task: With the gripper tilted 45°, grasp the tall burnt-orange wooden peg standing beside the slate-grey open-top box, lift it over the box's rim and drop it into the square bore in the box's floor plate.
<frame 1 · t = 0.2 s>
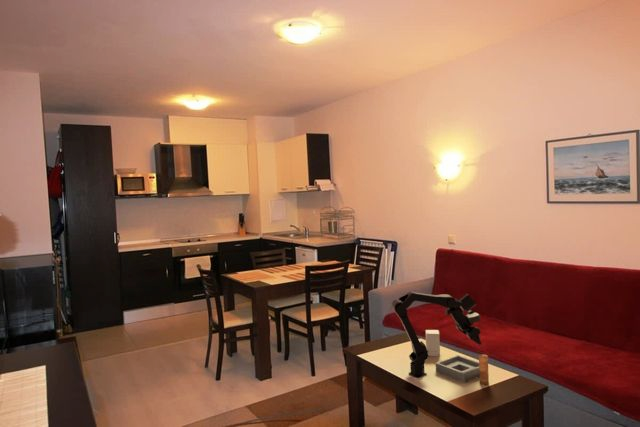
hand: (476, 341, 218), 15 cm above the table, tool tilted 35°, fingers open, 9 cm apart
supplement box: (433, 354, 243), on the table
socket box: (460, 372, 217), on the table
orange peg: (484, 383, 204), on the table
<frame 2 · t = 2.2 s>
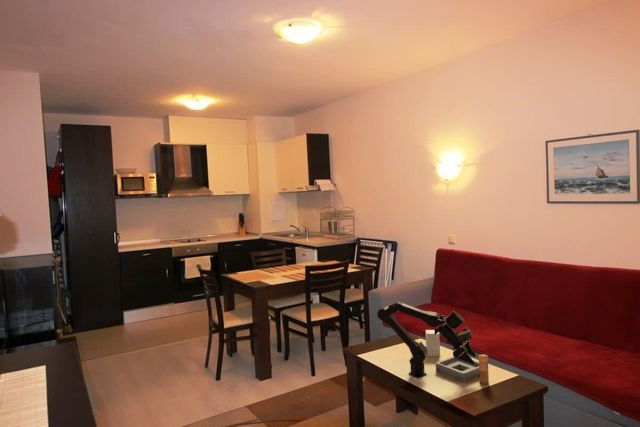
hand: (474, 359, 205), 11 cm above the table, tool tilted 45°, fingers open, 9 cm apart
nothing on the table moved.
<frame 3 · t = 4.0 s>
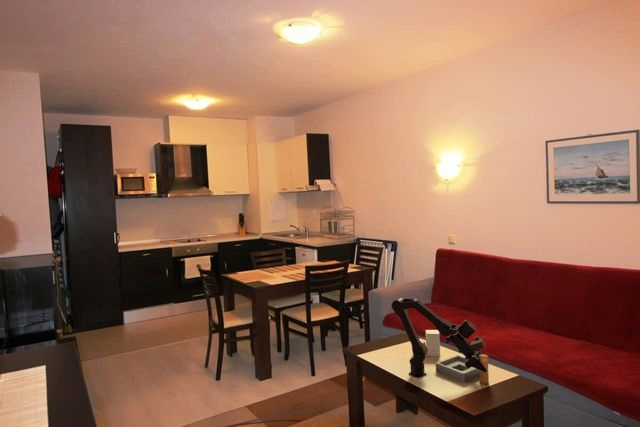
hand: (486, 369, 203), 7 cm above the table, tool tilted 45°, fingers closed on orange peg, 4 cm apart
orange peg: (484, 383, 204), on the table, touching gripper
everything else where it was.
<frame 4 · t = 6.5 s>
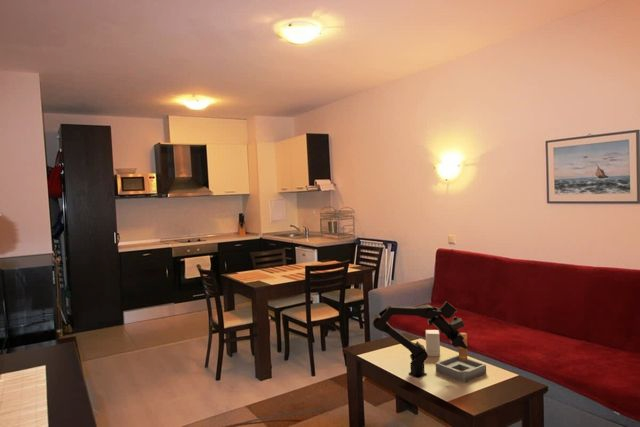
hand: (465, 346, 215), 13 cm above the table, tool tilted 45°, fingers closed on orange peg, 4 cm apart
orange peg: (463, 359, 215), point 7 cm above the table, touching gripper
everything else where it was.
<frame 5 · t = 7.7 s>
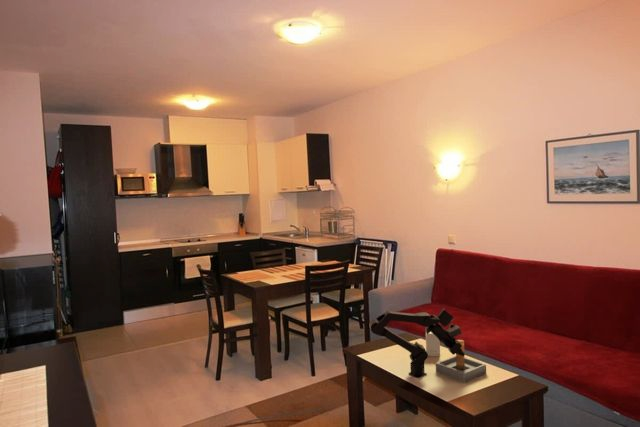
hand: (462, 353, 216), 10 cm above the table, tool tilted 45°, fingers closed on orange peg, 4 cm apart
orange peg: (460, 366, 216), point 3 cm above the table, touching gripper
everything else where it was.
when the fingers open (7 cm above the table, at t = 8.9 s): orange peg stays where it is, resting in socket box.
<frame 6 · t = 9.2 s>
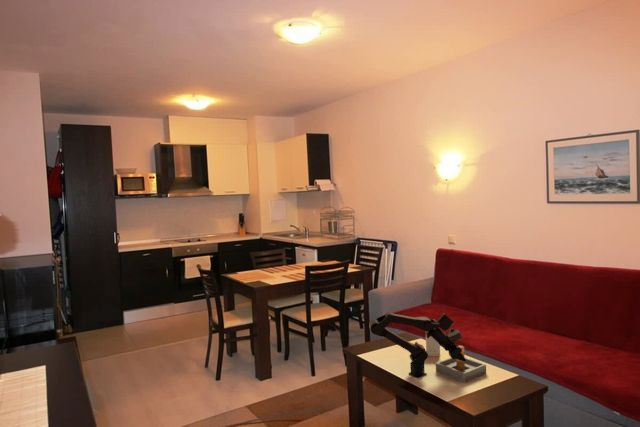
hand: (463, 358, 216), 7 cm above the table, tool tilted 45°, fingers open, 7 cm apart
orange peg: (460, 372, 217), resting in socket box
everything else where it was.
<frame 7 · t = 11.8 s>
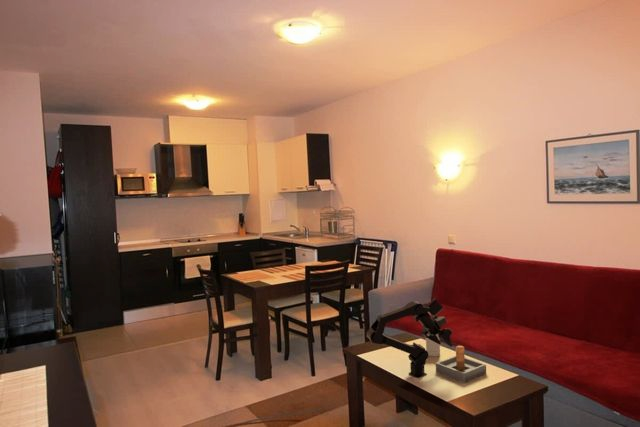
hand: (445, 345, 219), 13 cm above the table, tool tilted 35°, fingers open, 9 cm apart
nothing on the table moved.
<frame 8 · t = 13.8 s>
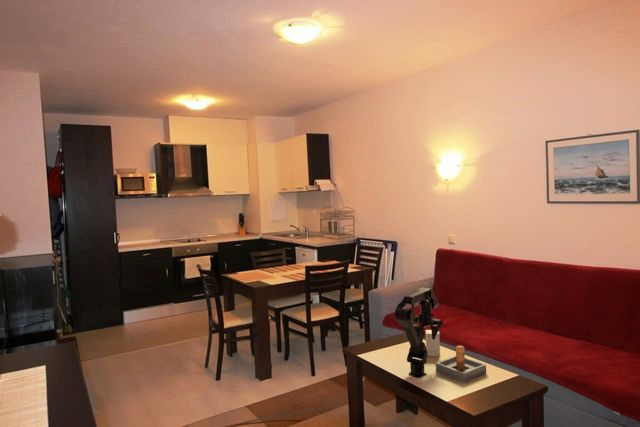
hand: (427, 341, 226), 13 cm above the table, tool pointing down, fingers open, 9 cm apart
nothing on the table moved.
at the end: orange peg 0.0 cm off-centre on the socket box, point 0.0 cm above the socket box's base; orange peg tilted 0°; the gripper is holding nothing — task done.
